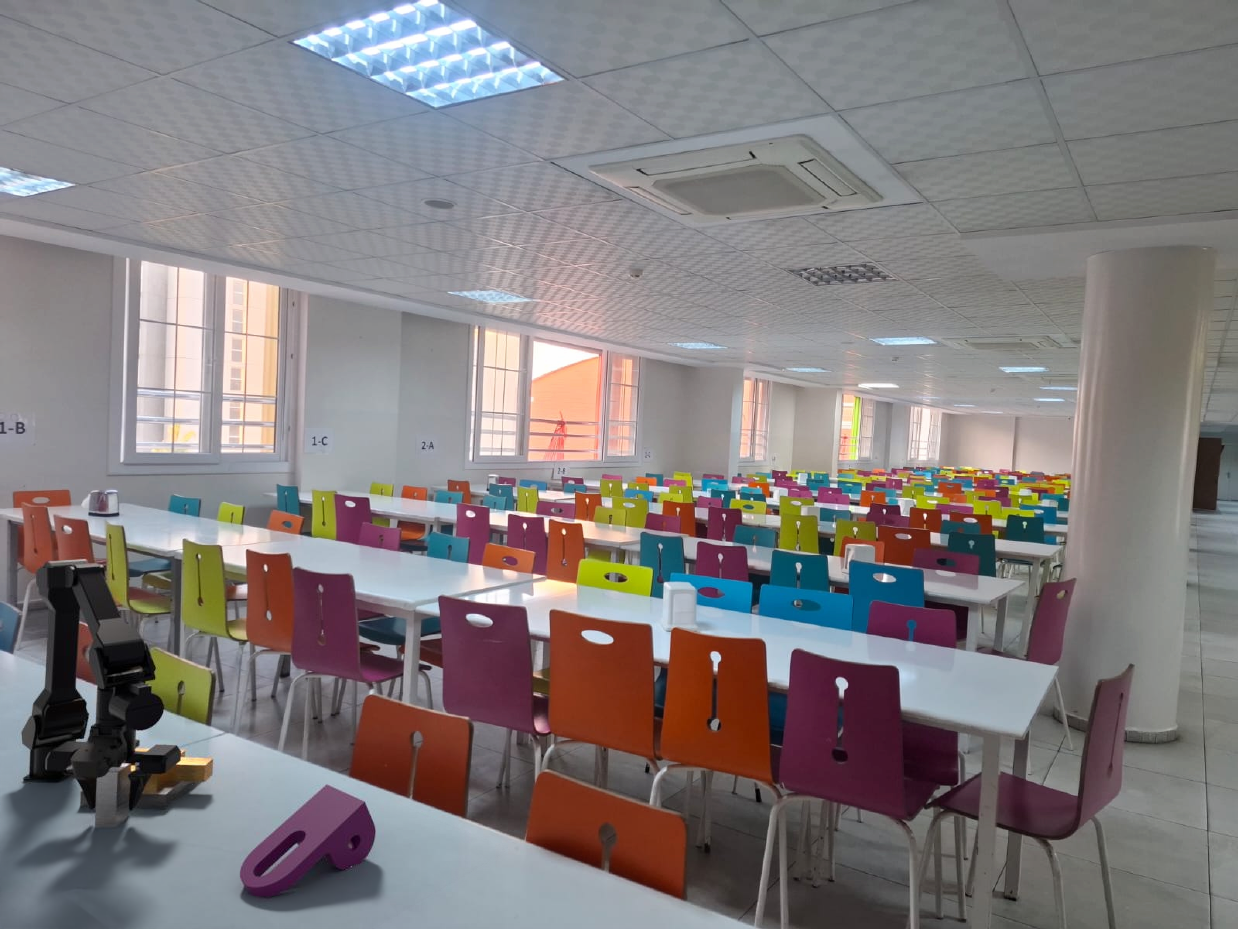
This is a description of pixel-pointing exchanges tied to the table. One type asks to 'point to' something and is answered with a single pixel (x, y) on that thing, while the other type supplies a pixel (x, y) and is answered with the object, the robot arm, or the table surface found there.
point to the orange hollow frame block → (170, 782)
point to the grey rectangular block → (113, 797)
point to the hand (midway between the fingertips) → (112, 809)
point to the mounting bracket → (311, 842)
